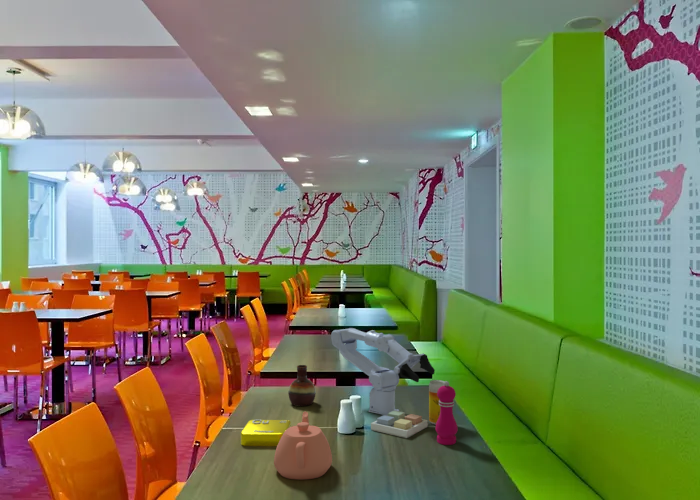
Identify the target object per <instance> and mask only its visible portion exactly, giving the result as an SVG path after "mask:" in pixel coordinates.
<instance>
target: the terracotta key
mask: <svg viewBox="0 0 700 500" xmlns="http://www.w3.org/2000/svg"><path fill="white" fill-rule="evenodd" d="M404 419H405V420H409V421H412V425H417V424H419V423H420V422H422V419H423V416H422V415H418V414H414V413H410V414H407V415H405V417H404Z"/></svg>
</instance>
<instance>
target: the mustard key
mask: <svg viewBox="0 0 700 500" xmlns="http://www.w3.org/2000/svg"><path fill="white" fill-rule="evenodd" d="M411 427H412V421H409V420H405V419H399V420H397V421H395V422H394V428H399V429H403V430H407V429H409V428H411Z"/></svg>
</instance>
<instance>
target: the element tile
mask: <svg viewBox="0 0 700 500" xmlns="http://www.w3.org/2000/svg"><path fill="white" fill-rule="evenodd" d="M290 427H292V422H291V420H289V419H288V420H287V419H250V420H248V421H247V423H246V424H245V425H244V427H243V428H242V429H241V431H240V445H241V446H244V447H277V445H278V443H279V441H280V439H281V437H282V435H283V434H284V432H285V431H286V430H287V429H288V428H290Z"/></svg>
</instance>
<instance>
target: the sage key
mask: <svg viewBox="0 0 700 500" xmlns="http://www.w3.org/2000/svg"><path fill="white" fill-rule="evenodd" d="M388 416H390V417H395V421H397V420H399V419H404V417H405V416H406V413H405V412H403V411H400V410H399V411H392V412H390V413H388Z"/></svg>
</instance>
